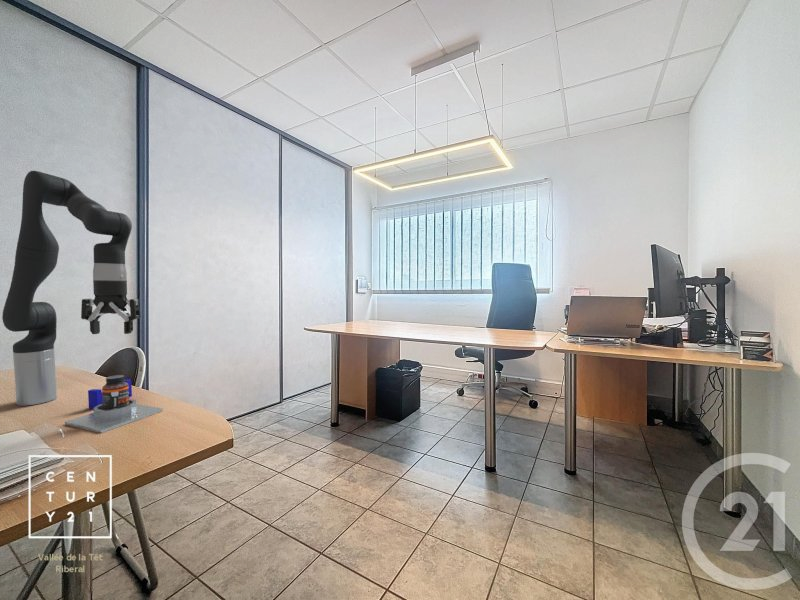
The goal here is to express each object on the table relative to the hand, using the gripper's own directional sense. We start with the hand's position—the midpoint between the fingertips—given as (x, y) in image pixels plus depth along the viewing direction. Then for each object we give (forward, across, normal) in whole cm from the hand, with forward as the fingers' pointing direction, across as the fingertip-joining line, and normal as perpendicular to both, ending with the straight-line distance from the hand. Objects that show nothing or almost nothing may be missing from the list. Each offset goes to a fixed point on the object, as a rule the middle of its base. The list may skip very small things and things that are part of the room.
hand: (111, 333), depth 100 cm
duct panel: (+24, -3, +3) cm, 25 cm away
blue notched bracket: (+25, +8, -11) cm, 29 cm away
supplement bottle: (+24, -3, +3) cm, 24 cm away
